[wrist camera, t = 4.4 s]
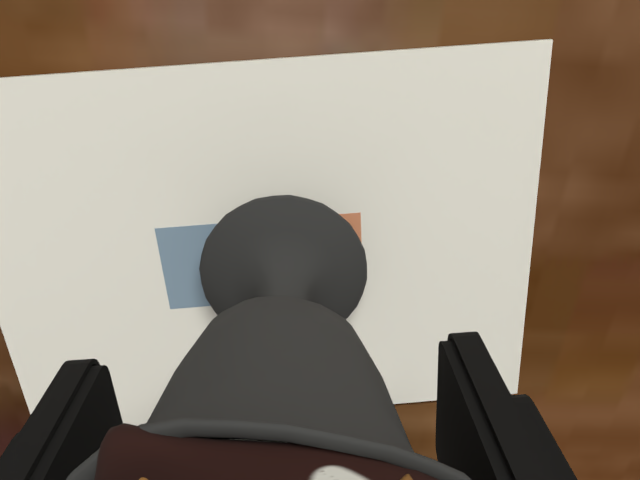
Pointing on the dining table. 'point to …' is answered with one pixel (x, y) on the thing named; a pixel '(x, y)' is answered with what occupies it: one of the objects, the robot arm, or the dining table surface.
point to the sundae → (273, 367)
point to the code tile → (262, 181)
